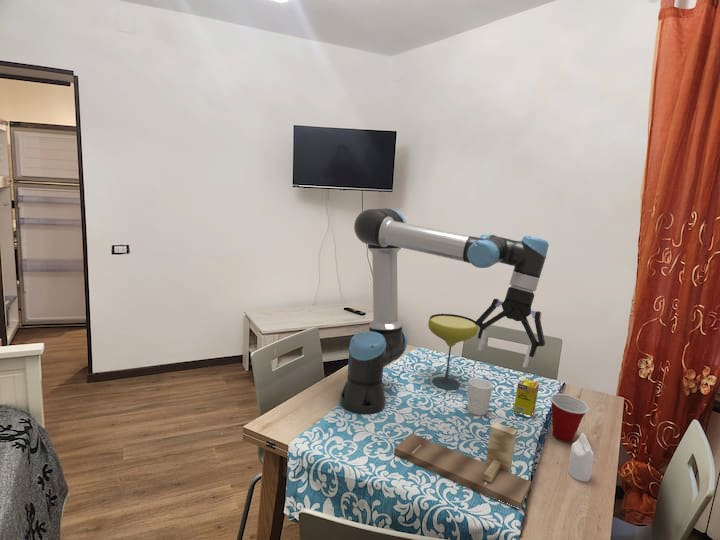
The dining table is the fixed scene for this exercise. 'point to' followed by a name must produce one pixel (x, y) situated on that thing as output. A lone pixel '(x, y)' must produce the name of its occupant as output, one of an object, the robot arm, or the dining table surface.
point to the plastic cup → (566, 416)
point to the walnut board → (463, 469)
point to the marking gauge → (500, 450)
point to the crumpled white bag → (581, 459)
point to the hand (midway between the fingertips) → (501, 358)
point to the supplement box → (526, 396)
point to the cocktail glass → (451, 339)
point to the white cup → (479, 396)
